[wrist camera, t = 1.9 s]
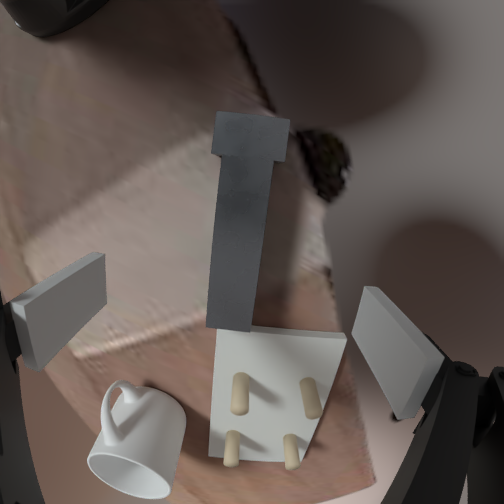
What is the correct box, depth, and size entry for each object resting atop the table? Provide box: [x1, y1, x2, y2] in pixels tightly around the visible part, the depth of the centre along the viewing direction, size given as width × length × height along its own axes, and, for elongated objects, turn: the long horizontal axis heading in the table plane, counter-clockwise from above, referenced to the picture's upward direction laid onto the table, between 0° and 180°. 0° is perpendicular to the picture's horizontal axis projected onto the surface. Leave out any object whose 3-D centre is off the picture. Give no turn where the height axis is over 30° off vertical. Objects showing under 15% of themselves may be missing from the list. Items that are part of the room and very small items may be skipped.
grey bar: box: [206, 111, 290, 333], centre depth 23 cm, size 16×5×4 cm, turn 173°
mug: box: [87, 380, 186, 499], centre depth 25 cm, size 9×12×11 cm
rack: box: [208, 325, 347, 470], centre depth 27 cm, size 20×12×6 cm, turn 173°
